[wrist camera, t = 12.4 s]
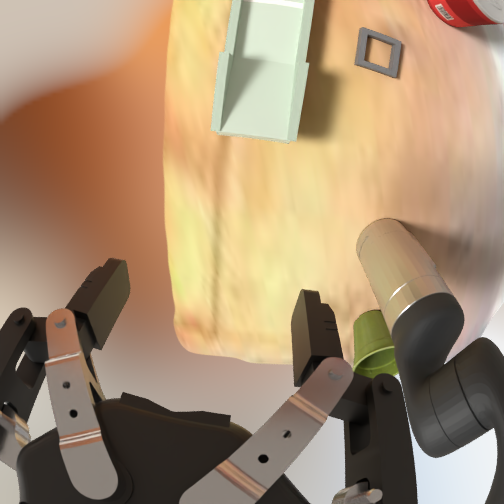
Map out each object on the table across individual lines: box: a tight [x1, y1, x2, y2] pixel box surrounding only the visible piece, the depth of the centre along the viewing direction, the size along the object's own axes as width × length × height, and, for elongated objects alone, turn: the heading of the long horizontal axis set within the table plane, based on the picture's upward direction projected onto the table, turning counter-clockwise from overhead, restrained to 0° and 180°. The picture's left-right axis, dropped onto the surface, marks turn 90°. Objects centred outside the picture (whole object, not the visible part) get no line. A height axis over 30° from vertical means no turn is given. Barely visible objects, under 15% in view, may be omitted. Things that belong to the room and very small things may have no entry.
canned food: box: [427, 0, 504, 27], centre depth 14 cm, size 8×8×11 cm
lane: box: [211, 0, 315, 144], centre depth 22 cm, size 9×32×6 cm, turn 173°
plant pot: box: [352, 310, 399, 379], centre depth 47 cm, size 12×12×11 cm
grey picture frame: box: [354, 27, 401, 78], centre depth 25 cm, size 6×6×1 cm
